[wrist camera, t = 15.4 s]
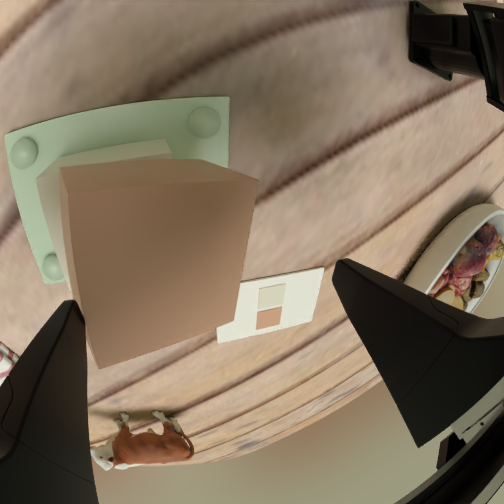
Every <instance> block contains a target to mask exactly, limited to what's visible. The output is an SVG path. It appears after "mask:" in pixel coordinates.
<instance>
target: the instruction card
mask: <svg viewBox="0 0 504 504" xmlns="http://www.w3.org/2000/svg"><path fill="white" fill-rule="evenodd" d="M324 268H325V267H324V266H323V267H318V268H313V269H307V270H302V271H297V272H292V273H286V274H281V275H276V276H270V277H265V278H259V279H253V280H248V281H242V282H241V283H240V289H239V294H238V300H237V306H236V311H235V317H234V321H232V322H230V323H227V324H225V325H222V326H220V327H217V328H216V332H217V343H222V342H227V341H231V340H236V339H241V338H245V337H250V336H254V335H259V334H263V333H267V332H271V331H275V330H279V329H283V328H287V327H291V326H295V325H299V324H302V323H306V322H310V321H311V320H312V316H313V312H314V309H315V305H316V301H317V297H318V293H319V289H320V285H321V281H322V277H323V272H324Z"/></svg>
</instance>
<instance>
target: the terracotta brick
mask: <svg viewBox="0 0 504 504" xmlns="http://www.w3.org/2000/svg"><path fill="white" fill-rule="evenodd" d="M59 181H60V205H61V219H62V230H63V239H64V247H65V254H66V261H67V267H68V273H69V279H70V284H71V289H72V294H73V299H74V300H76V301H77V303H78V305H79V308H80V310H81V312H82V314H83V317H84V320H85V325H86V339H87V342H88V345H89V347H90V350H91V352H92V355H93V357H94V359H95V362H96V364H97V366H98V369H102V368H105V367H108V366H111V365H114V364H117V363H120V362H123V361H126V360H129V359H132V358H135V357H138V356H141V355H144V354H147V353H150V352H153V351H156V350H158V349H161V348H164V347H167V346H170V345H172V344H175V343H178V342H181V341H183V340H186V339H189V338H191V337H194V336H197V335H199V334H202V333H204V332H207V331H210V330H212V329H215V328H217V327H220V326H222V325H225V324H227V323H230V322H232V321H234V317H235V311H236V306H237V300H238V294H239V289H240V283H241V278H242V272H243V266H244V261H245V255H246V250H247V244H248V238H249V233H250V227H251V222H252V216H253V211H254V205H255V200H256V194H257V189H258V183H259V180H257V179H255V178H252V177H249V176H247V175H244V174H241V173H239V172H236V171H233V170H231V169H228V168H225V167H222V166H219V165H217V164H214V163H211V162H208V161H205V160H202V159H165V160H137V161H120V162H106V163H94V164H84V165H74V166H66V167H59Z"/></svg>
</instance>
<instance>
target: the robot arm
mask: <svg viewBox="0 0 504 504" xmlns="http://www.w3.org/2000/svg"><path fill="white" fill-rule="evenodd" d="M463 6H464V8H465V9H466V11H467V14H468V15H456V14H436V13H434V12H433V11H431V10H430V9H429V8H427V7H426V6H424V5H422V4H421V3H419V2H418V1H411V2H410V20H411V25H410V60H411V62H412V63H414V64H416V65H418V66H420V67H422V68H424V69H426V70H428V71H430V72H432V73H434V74H436V75H438V76H440V77H442V78H443V79H445V80H448V81H451V80H452V74H453V73H458V74H462V75H467V76H471V77H475V78H479V79H483V80H485V85H486V91H487V96H486V97H487V102H488V103H490V104H491V105H493V106H495V107H496V108H498V109H500V110H501V111H503V112H504V3H497V2H487V1H477V2H466V3H463ZM493 13H494V15H495V17H494V16H493ZM332 282H333V285H334V287H335V290H336V292H337V294H338V296H339V298H340V300H341V303H342V305H343V307H344V309H345V311H346V313H347V315H348V317H349V319H350V321H351V323H352V325H353V326H354V328H355V330H356V331H357V333H358V335H359V337H360V338H361V340H362V342H363V344H364V346H365V347H366V349H367V351H368V353H369V355H370V356H371V358H372V360H373V362H374V364H375V365H376V367H377V369H378V371H379V373H380V375H381V376H382V378H383V380H384V382H385V384H386V386H387V388H388V390H389V391H390V393H391V395H392V397H393V399H394V401H395V403H396V404H397V407H398V409H399V411H400V413H401V415H402V417H403V419H404V421H405V423H406V425H407V427H408V429H409V431H410V433H411V435H412V437H413V439H414V441H415V444H416V445H417V447H418V448H420V447H421V446H423V445H424V444H425V443H427V442H428V441H430V440H431V439H433V438H434V437H436V436H437V435H438V434H440V433H441V432H442V431H444V430H445V429H446V428H448V427H449V426H451V428H452V429H453V432H451V434H449V435H448V436H447V437H446V438H445V439H444V440H442V441H441V442H440V449H439V455H438V461H437V466H436V468H437V469H438V471H437V472H436V473H435V474H433V475H432V476H431V477H430V478H429V479H427V480H426V481H425V482H423V483H422V484H421V485H420V486H418V487H417V488H416V489H414V490H413V491H412V492H410V493H409V494H408V495H406V496H405V497H403V498H402V499H400V500H399V501H397V502H396V503H395V504H487V503H488V501H489V500H490V499H491V498H492V497H493V496H494V494H495V493H496V492H497V491H498V489H499V488H500V487H501V486H502V484H503V483H504V317H500V318H495V319H485V318H481V317H478V316H476V315H473V314H471V313H468V312H466V311H463V310H461V309H459V308H456V307H454V306H451V305H449V304H447V303H444V302H442V301H440V300H438V299H436V298H434V297H432V296H430V295H427V294H425V293H423V292H421V291H419V290H417V289H415V288H412V287H410V286H408V285H406V284H404V283H402V282H400V281H397V280H395V279H393V278H391V277H389V276H386V275H384V274H382V273H380V272H378V271H375V270H373V269H371V268H369V267H367V266H364V265H362V264H360V263H358V262H355V261H353V260H351V259H348V258H345V259H339V260H338V261H337V262H336V265H335V269H334V272H333V276H332ZM94 483H95V481H94V475H93V468H92V460H91V451H90V441H89V428H88V406H87V350H86V325H85V320H84V317H83V314H82V312H81V310H80V308H79V305H78V303H77V301H76V300H66V301H64V302H63V303H62V304H61V305H60V306H59V307H58V308H57V310H56V311H55V312H54V313H53V315H52V316H51V317H50V318H49V319H48V321H47V322H46V323H45V324H44V326H43V327H42V328H41V330H40V331H39V332H38V333H37V335H36V336H35V337H34V339H33V340H32V341H31V343H30V344H29V345H28V347H27V348H26V349H25V351H24V352H23V354H22V355H21V356H20V358H19V359H18V361H17V362H16V363H15V365H14V366H13V368H12V369H11V371H10V372H9V376H8V375H7V377H6V378H5V380H4V381H3V383H2V384H1V386H0V504H99V502H98V497H97V492H96V486H95V484H94Z"/></svg>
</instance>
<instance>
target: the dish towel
mask: <svg viewBox="0 0 504 504" xmlns="http://www.w3.org/2000/svg"><path fill="white" fill-rule="evenodd" d="M18 359H19V358H18V357H17V355H16V354H15V353H13V352H11V351H10V350H9V349H8V348H7V347H6V346H5V345H4V344H2V343H1V342H0V386H1V384H2V383H3V381H4V380H5V378H6V377H7V375H8V376H9V372H10V371H11V369H12V368H13V366H14V365H15V363H16V362H17V361H18Z"/></svg>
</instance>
